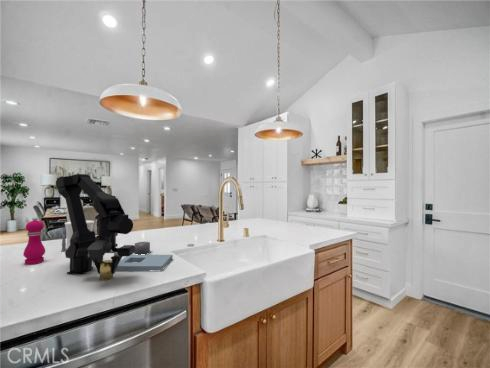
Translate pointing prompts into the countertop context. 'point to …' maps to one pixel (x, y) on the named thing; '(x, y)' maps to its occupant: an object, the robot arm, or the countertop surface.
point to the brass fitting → (106, 270)
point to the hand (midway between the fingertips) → (106, 273)
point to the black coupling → (142, 248)
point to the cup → (70, 231)
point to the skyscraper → (64, 234)
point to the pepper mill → (34, 243)
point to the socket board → (144, 262)
